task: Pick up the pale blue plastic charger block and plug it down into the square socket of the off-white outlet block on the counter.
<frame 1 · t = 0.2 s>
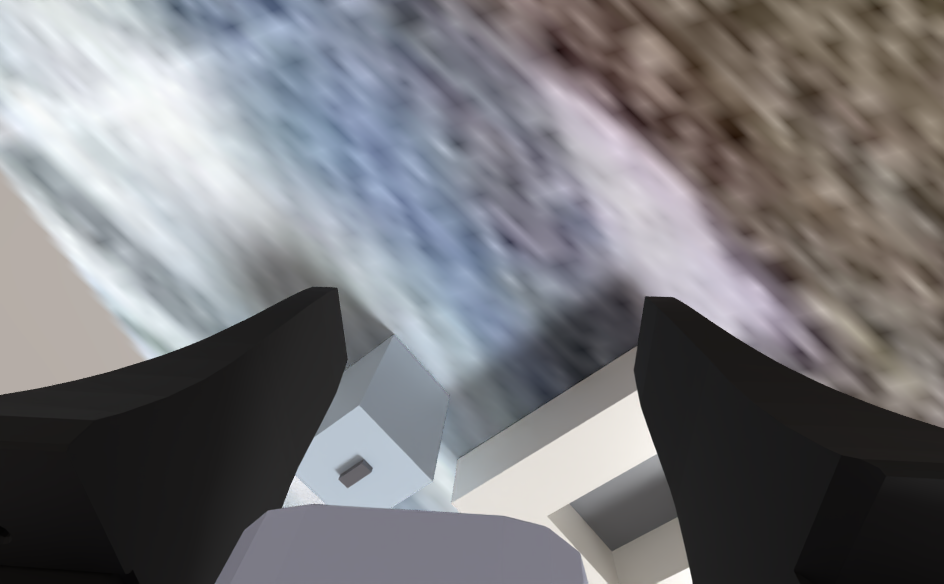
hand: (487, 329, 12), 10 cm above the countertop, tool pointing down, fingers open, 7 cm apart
outlet block: (628, 482, 26), on the countertop
charger: (390, 387, 25), on the countertop
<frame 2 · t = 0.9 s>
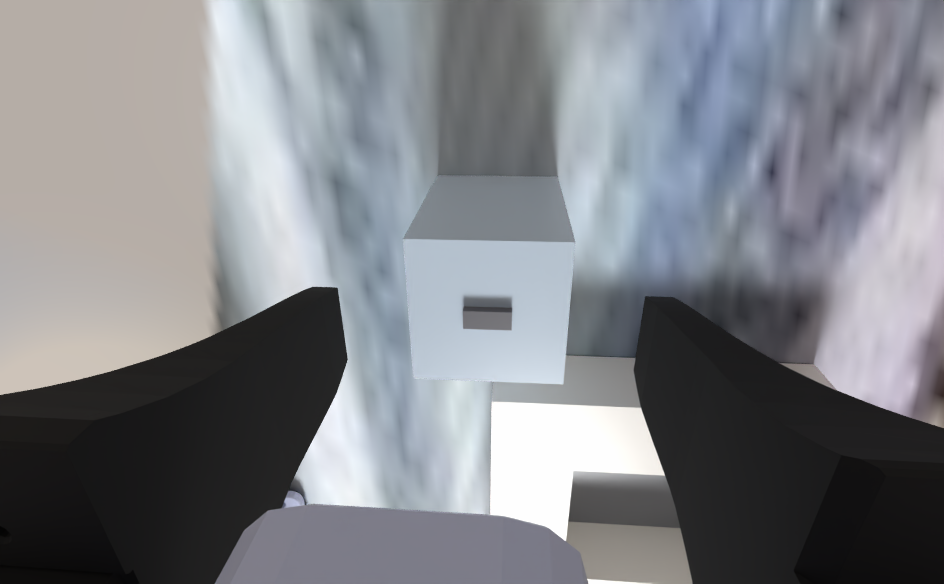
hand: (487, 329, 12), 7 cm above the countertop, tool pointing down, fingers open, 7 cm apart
outlet block: (631, 473, 23), on the countertop
charger: (496, 232, 18), on the countertop
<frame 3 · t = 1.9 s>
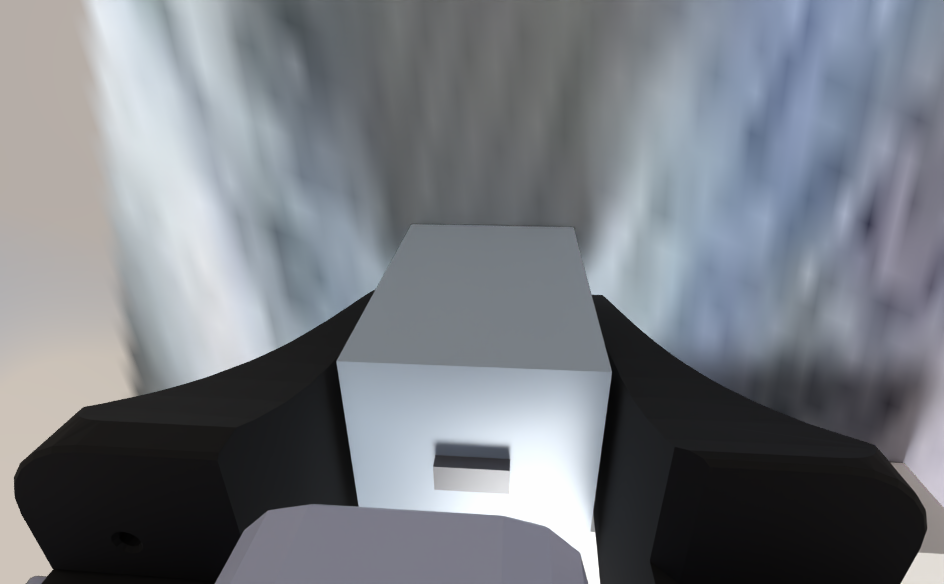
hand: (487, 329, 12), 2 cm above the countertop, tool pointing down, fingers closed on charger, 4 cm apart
outlet block: (660, 581, 18), on the countertop
charger: (490, 297, 14), on the countertop, touching gripper
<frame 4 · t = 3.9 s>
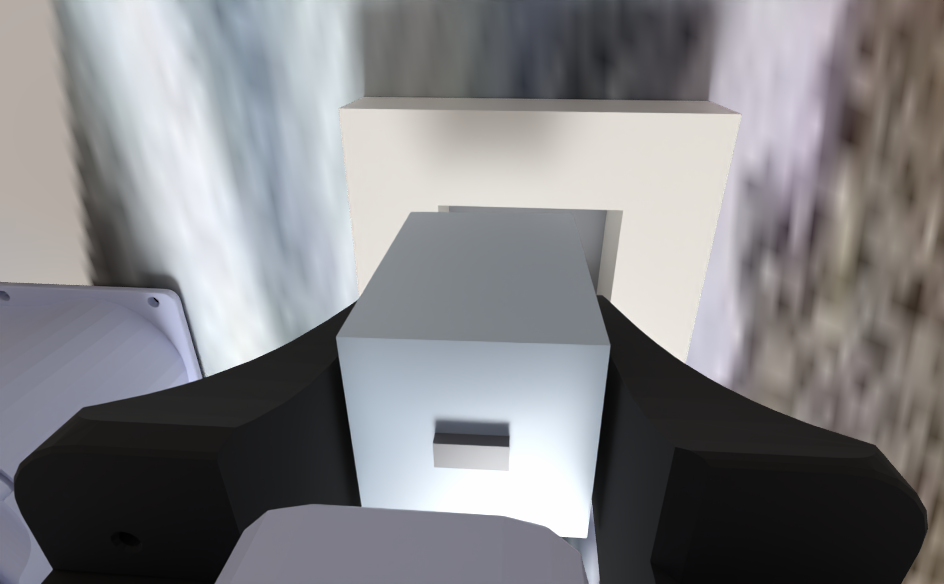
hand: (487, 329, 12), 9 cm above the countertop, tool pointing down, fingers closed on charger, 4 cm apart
outlet block: (524, 256, 21), on the countertop
charger: (490, 285, 14), point 7 cm above the countertop, touching gripper
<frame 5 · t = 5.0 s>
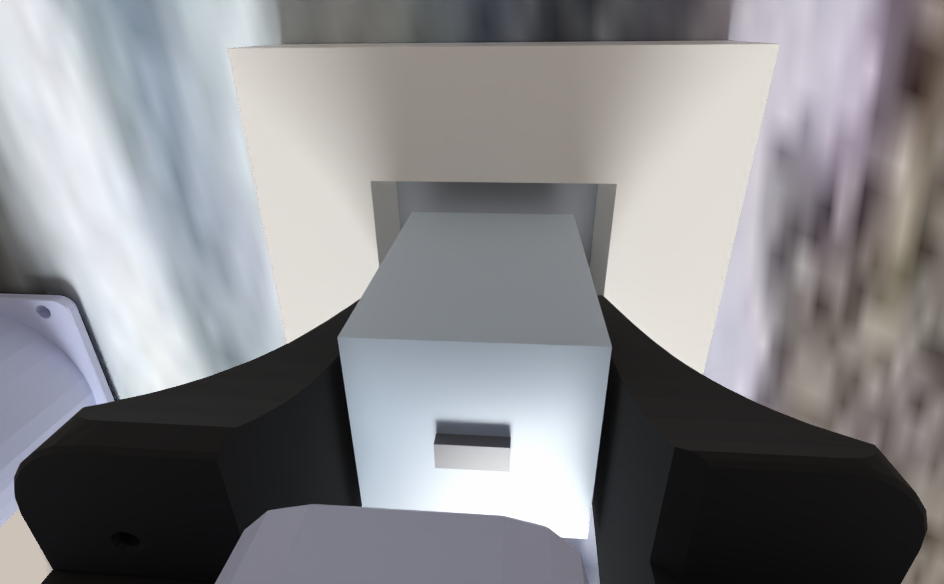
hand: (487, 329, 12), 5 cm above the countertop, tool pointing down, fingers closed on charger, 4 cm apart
outlet block: (495, 249, 17), on the countertop
charger: (491, 285, 14), point 3 cm above the countertop, touching gripper
when the fingers open (4 cm above the countertop, at t = 5.8 s): charger drops 2 cm, resting on outlet block.
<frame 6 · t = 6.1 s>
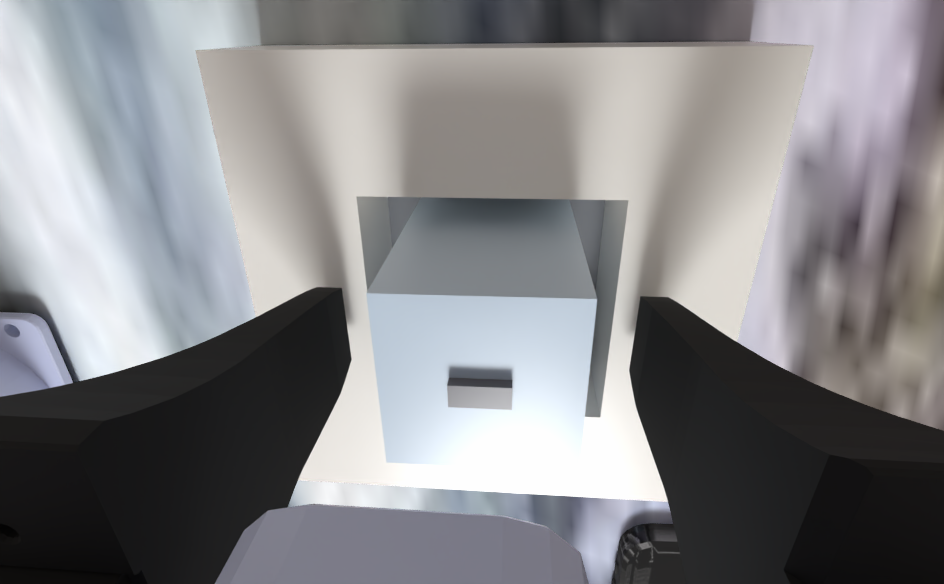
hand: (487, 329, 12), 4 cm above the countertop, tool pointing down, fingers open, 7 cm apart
outlet block: (494, 266, 16), on the countertop
charger: (494, 262, 15), resting on outlet block
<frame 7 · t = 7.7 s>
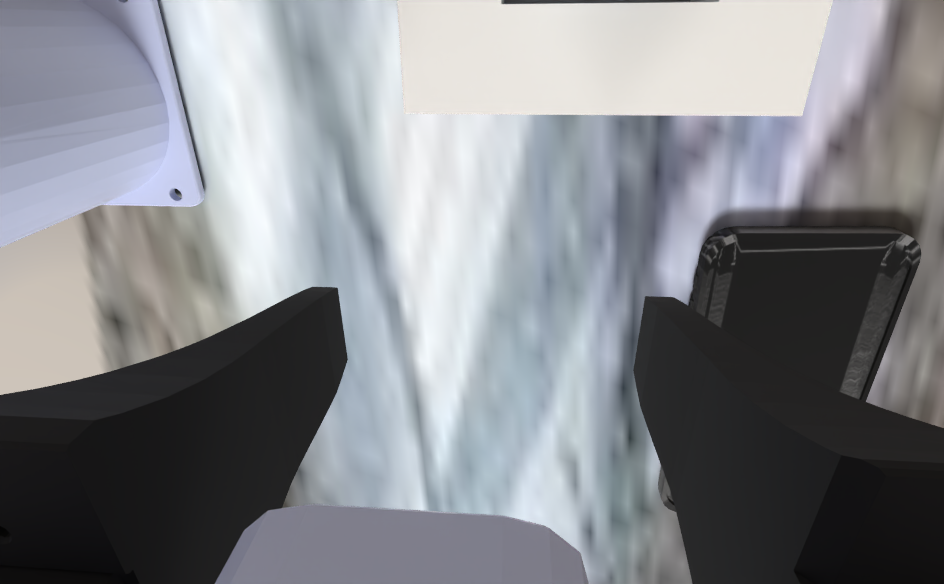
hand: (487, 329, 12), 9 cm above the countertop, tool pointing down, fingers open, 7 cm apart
phone: (759, 377, 24), on the countertop
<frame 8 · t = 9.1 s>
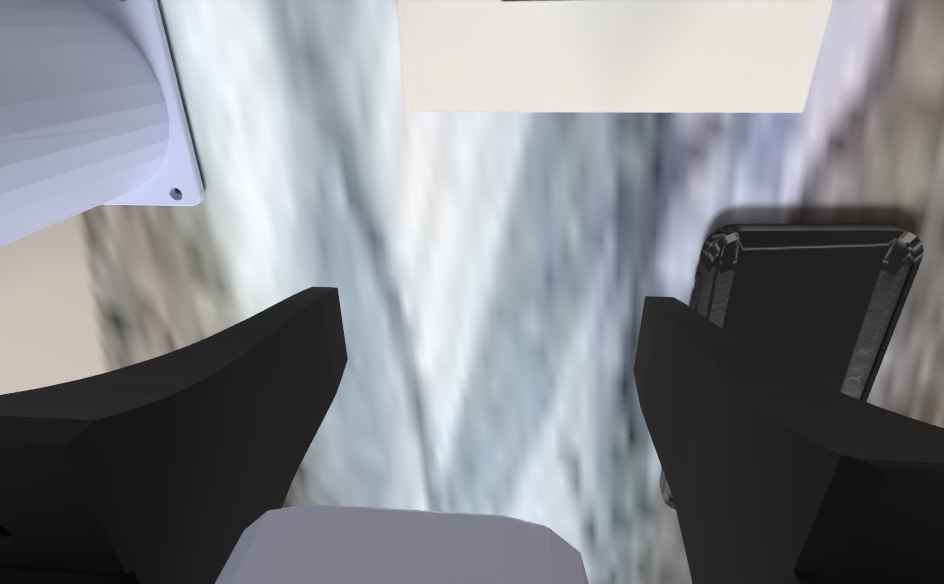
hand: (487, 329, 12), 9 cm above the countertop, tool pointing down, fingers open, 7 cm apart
phone: (760, 375, 24), on the countertop
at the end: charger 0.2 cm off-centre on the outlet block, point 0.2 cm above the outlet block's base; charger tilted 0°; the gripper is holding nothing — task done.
